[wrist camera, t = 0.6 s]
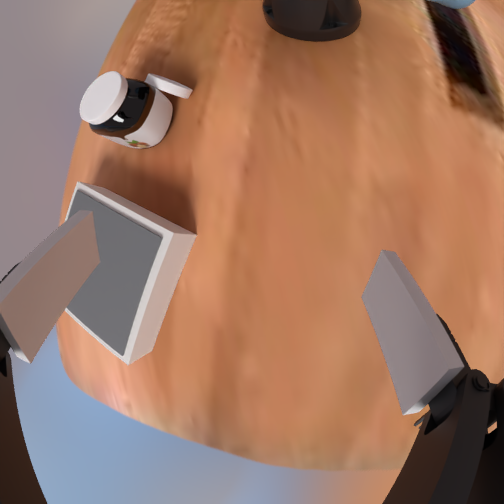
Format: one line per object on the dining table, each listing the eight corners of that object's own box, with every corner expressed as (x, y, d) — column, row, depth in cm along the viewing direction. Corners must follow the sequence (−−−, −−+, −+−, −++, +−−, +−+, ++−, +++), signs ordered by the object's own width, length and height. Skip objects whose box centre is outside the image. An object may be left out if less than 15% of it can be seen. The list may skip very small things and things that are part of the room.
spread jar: (118, 149, 37) (64, 127, 25) (139, 87, 36) (96, 53, 24) (182, 153, 34) (131, 121, 23) (204, 82, 33) (166, 36, 22)
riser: (104, 187, 37) (75, 180, 31) (197, 234, 34) (171, 233, 27) (74, 289, 39) (47, 294, 33) (152, 350, 36) (126, 366, 30)
